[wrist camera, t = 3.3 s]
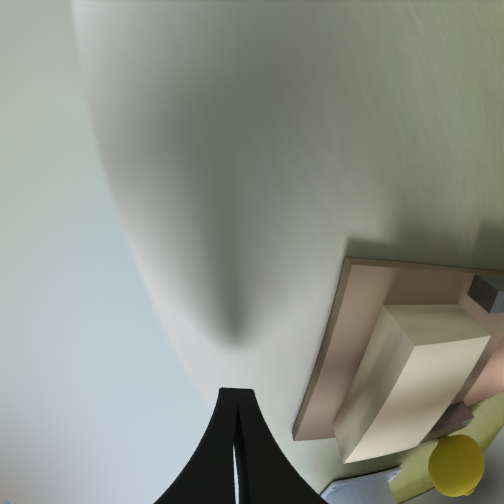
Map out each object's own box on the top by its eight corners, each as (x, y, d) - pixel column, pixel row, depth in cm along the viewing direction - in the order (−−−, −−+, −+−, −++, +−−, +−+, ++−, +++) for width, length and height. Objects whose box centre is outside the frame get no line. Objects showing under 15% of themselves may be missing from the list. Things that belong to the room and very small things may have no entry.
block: (399, 413, 15) (416, 446, 12) (331, 423, 14) (343, 463, 12) (457, 304, 12) (490, 335, 9) (382, 304, 12) (414, 345, 9)
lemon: (455, 414, 18) (491, 475, 10) (468, 423, 19) (498, 474, 12) (409, 450, 19) (436, 512, 12) (428, 455, 21) (452, 507, 13)
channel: (455, 410, 16) (466, 426, 14) (395, 427, 16) (404, 448, 14) (526, 277, 12) (545, 290, 10) (474, 273, 11) (498, 291, 10)
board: (500, 386, 18) (504, 391, 17) (291, 431, 16) (293, 440, 15) (555, 275, 13) (561, 279, 13) (345, 256, 11) (351, 264, 11)
